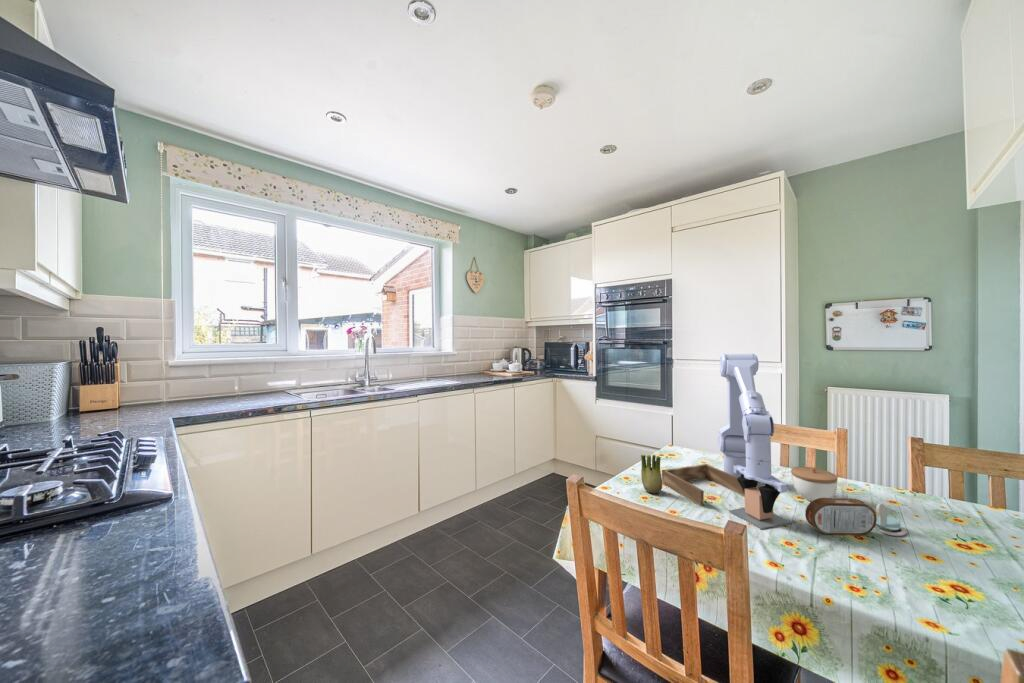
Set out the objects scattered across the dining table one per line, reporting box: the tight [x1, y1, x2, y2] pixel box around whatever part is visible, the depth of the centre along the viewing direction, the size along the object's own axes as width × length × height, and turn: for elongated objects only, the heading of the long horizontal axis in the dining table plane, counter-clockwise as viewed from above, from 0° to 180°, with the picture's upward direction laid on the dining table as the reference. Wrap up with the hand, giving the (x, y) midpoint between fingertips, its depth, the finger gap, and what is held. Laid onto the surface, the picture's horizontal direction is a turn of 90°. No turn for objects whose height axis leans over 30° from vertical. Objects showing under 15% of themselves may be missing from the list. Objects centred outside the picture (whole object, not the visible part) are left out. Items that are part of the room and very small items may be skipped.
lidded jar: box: [790, 466, 838, 503], centre depth 110 cm, size 11×11×9 cm
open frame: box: [661, 463, 745, 507], centre depth 118 cm, size 18×18×4 cm
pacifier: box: [875, 503, 907, 537], centre depth 92 cm, size 7×6×6 cm
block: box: [744, 486, 774, 520], centre depth 100 cm, size 4×4×6 cm
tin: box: [804, 497, 878, 536], centre depth 91 cm, size 15×3×8 cm, turn 84°
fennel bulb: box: [640, 453, 663, 495], centre depth 118 cm, size 6×5×12 cm
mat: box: [728, 507, 793, 530], centre depth 100 cm, size 10×10×1 cm
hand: (759, 507), depth 100 cm, fingers closed on block, 4 cm apart
